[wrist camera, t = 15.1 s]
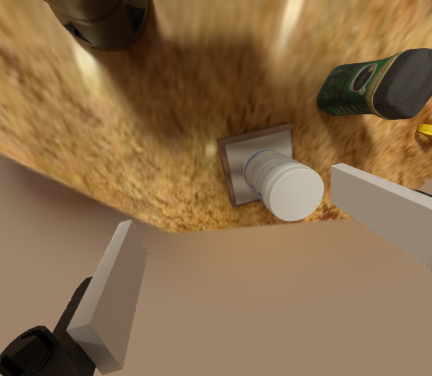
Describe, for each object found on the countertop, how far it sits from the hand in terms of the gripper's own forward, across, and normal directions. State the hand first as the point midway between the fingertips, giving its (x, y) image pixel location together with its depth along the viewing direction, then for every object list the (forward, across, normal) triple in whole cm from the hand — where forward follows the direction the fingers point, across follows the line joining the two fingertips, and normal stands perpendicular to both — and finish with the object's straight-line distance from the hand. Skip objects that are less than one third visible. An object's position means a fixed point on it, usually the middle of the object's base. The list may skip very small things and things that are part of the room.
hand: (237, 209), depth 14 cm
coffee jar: (+35, +32, +2) cm, 47 cm away
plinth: (+35, +12, -10) cm, 38 cm away
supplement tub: (+31, +12, -10) cm, 35 cm away
